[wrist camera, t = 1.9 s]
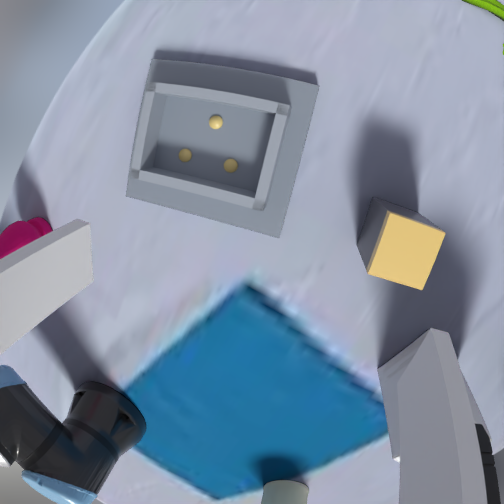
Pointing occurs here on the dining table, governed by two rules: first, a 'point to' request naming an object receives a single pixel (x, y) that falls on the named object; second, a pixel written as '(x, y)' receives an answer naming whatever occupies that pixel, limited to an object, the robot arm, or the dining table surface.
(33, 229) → the pepper mill
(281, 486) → the can
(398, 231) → the plug
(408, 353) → the supplement box
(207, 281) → the dining table surface
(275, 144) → the socket
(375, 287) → the dining table surface
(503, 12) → the cloth
